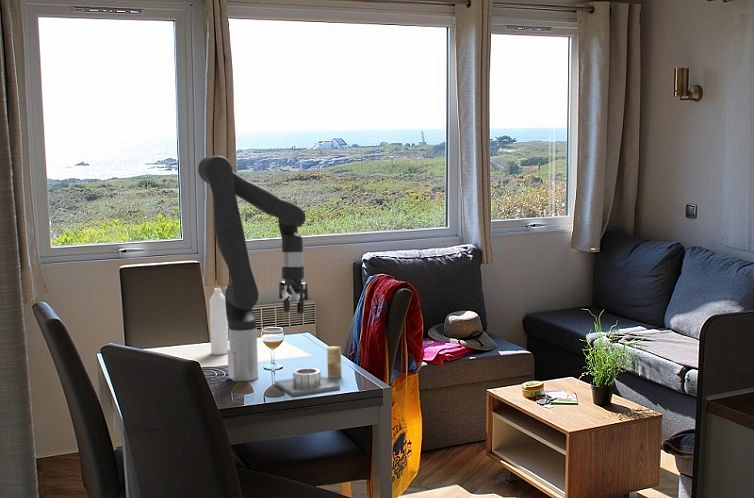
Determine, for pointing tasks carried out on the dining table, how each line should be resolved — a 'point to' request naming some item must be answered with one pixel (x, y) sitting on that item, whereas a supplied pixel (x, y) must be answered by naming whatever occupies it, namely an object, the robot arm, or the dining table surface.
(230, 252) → the robot arm
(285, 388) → the socket board
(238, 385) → the dining table surface
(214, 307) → the water bottle
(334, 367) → the plug
